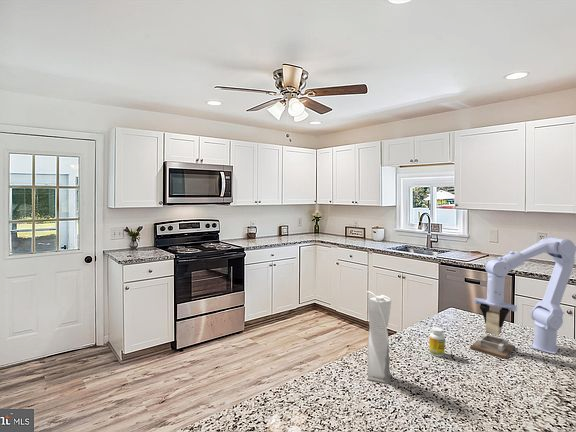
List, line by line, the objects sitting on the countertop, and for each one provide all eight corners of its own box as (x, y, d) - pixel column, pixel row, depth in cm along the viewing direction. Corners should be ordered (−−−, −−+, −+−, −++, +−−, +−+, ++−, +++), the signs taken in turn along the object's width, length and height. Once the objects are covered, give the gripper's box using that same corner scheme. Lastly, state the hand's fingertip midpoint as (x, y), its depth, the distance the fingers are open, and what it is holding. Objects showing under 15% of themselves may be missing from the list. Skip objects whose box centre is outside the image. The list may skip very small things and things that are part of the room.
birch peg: (488, 329, 143) (489, 309, 143) (501, 332, 140) (502, 312, 140) (485, 332, 140) (486, 312, 140) (498, 335, 137) (499, 315, 136)
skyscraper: (362, 379, 115) (365, 294, 114) (366, 367, 123) (368, 288, 121) (389, 384, 113) (392, 297, 111) (391, 372, 120) (394, 290, 118)
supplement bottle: (434, 349, 139) (435, 325, 138) (447, 354, 134) (448, 329, 134) (426, 352, 136) (427, 328, 135) (438, 358, 131) (439, 332, 131)
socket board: (481, 338, 150) (481, 330, 149) (514, 347, 141) (515, 339, 141) (470, 348, 140) (470, 340, 140) (505, 359, 131) (505, 349, 131)
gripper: (472, 289, 141) (470, 322, 142) (514, 296, 131) (512, 332, 132) (477, 286, 146) (476, 318, 147) (519, 293, 136) (517, 328, 137)
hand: (493, 325), depth 140 cm, fingers closed on birch peg, 4 cm apart
